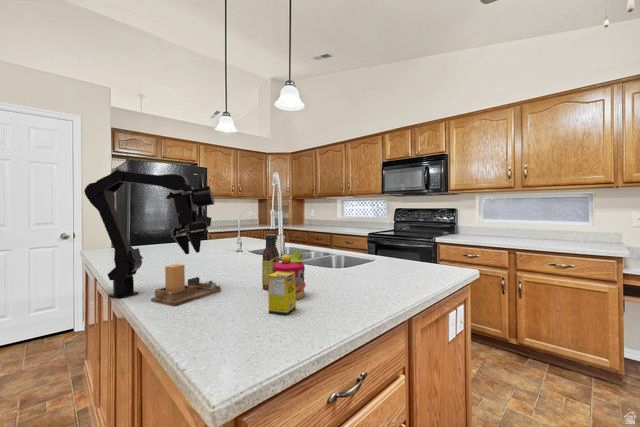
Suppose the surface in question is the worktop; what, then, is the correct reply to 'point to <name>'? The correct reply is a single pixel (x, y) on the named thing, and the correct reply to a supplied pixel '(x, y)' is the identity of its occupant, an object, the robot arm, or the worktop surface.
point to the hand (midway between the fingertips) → (192, 253)
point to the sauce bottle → (269, 258)
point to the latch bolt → (209, 285)
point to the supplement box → (281, 292)
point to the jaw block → (175, 277)
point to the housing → (184, 293)
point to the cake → (296, 266)
